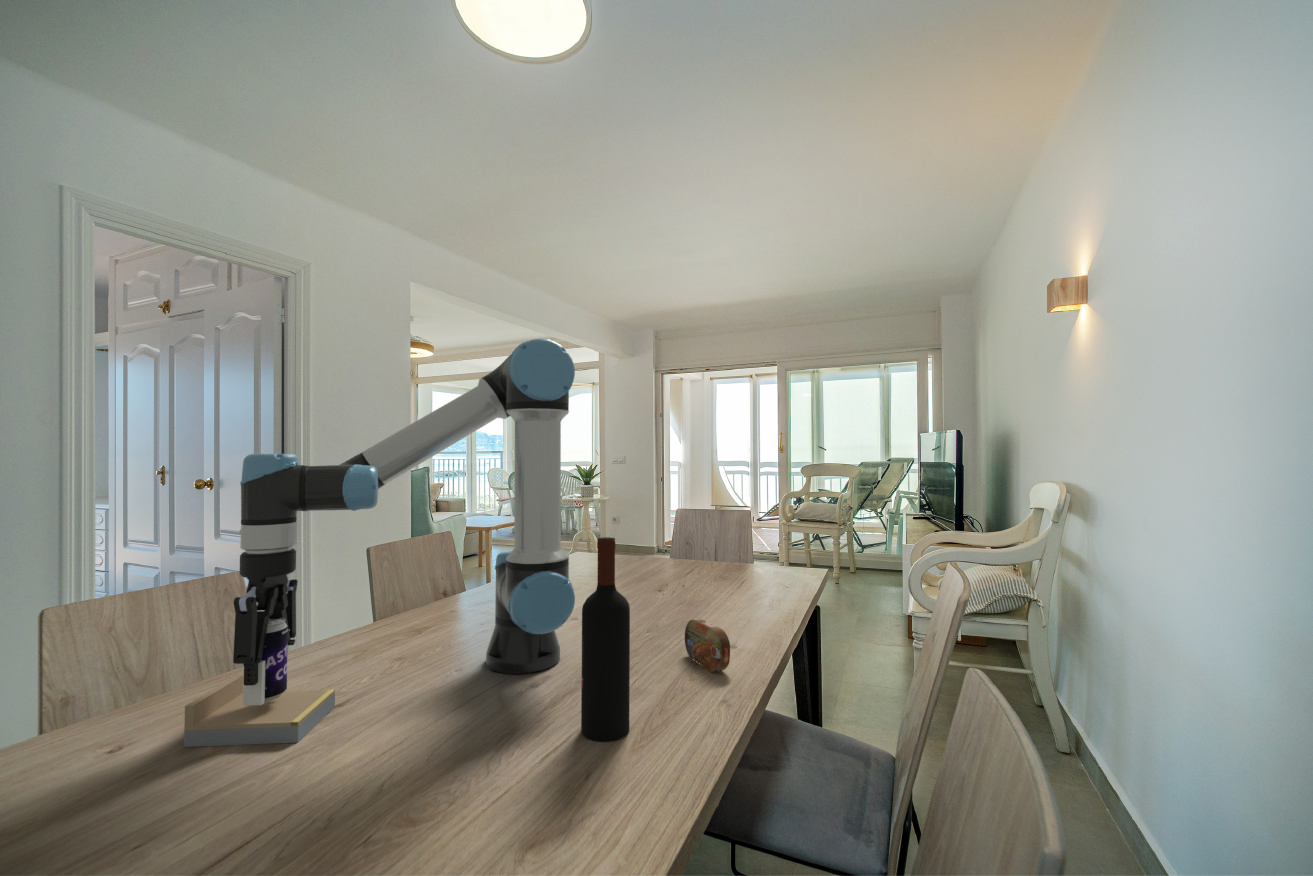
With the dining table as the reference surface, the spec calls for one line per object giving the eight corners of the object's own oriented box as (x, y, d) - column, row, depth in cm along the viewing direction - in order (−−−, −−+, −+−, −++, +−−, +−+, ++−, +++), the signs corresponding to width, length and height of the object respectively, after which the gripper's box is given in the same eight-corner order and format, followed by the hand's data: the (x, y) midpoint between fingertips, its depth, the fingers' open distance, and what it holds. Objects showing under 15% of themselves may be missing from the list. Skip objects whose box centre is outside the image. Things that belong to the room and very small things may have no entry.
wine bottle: (591, 746, 86) (592, 543, 87) (574, 725, 93) (575, 537, 94) (637, 735, 90) (638, 540, 91) (617, 715, 96) (618, 534, 97)
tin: (683, 654, 126) (683, 615, 126) (696, 652, 128) (696, 613, 128) (719, 678, 113) (719, 634, 113) (733, 676, 114) (733, 632, 114)
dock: (334, 707, 99) (335, 672, 99) (297, 742, 87) (298, 702, 87) (235, 711, 98) (236, 675, 98) (184, 747, 86) (184, 705, 86)
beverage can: (265, 706, 89) (266, 627, 90) (234, 703, 90) (236, 625, 91) (295, 691, 95) (296, 617, 95) (265, 689, 96) (267, 615, 96)
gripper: (276, 541, 102) (274, 674, 102) (203, 560, 84) (200, 723, 83) (321, 540, 103) (319, 672, 102) (259, 559, 84) (255, 721, 84)
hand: (265, 695), depth 93 cm, fingers closed on beverage can, 6 cm apart
